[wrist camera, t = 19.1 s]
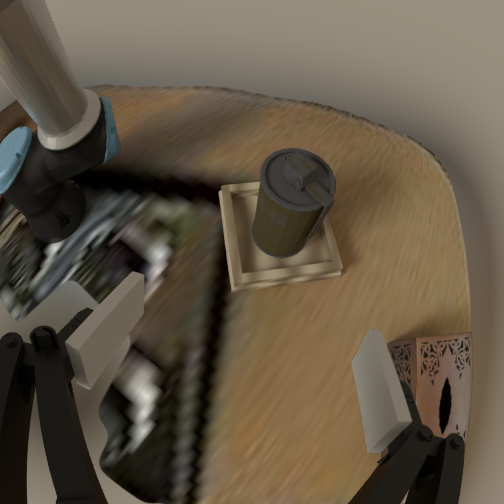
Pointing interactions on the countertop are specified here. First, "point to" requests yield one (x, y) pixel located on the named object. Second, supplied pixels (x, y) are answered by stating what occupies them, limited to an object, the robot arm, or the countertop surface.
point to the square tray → (260, 264)
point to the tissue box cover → (438, 380)
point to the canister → (291, 201)
